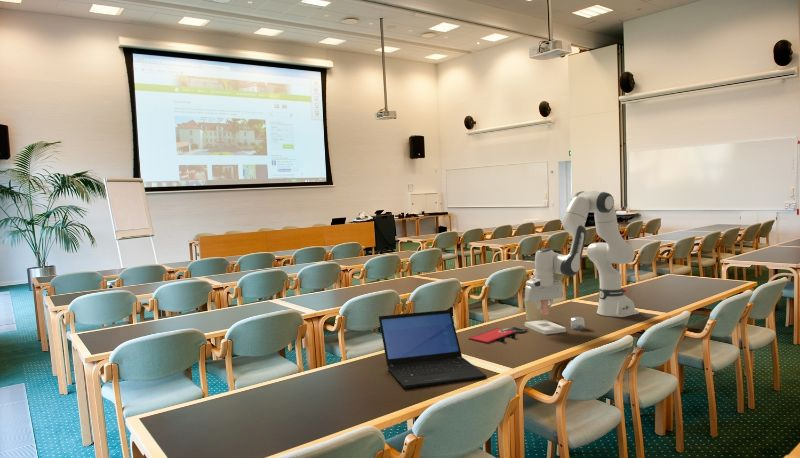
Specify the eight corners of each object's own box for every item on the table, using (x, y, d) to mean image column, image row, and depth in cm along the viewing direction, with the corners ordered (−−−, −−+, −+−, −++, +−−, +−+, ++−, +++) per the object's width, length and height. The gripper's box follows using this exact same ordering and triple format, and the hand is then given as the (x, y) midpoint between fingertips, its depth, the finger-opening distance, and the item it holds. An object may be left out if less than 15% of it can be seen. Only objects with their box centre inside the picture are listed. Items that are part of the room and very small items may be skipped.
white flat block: (544, 323, 284) (544, 319, 284) (565, 331, 267) (565, 327, 267) (524, 325, 280) (524, 322, 280) (544, 334, 263) (544, 330, 263)
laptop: (403, 391, 199) (402, 338, 197) (379, 360, 235) (377, 316, 233) (487, 379, 208) (486, 329, 206) (451, 351, 244) (450, 308, 242)
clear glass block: (578, 326, 277) (578, 316, 277) (587, 329, 271) (586, 319, 270) (568, 327, 275) (568, 317, 275) (576, 330, 269) (576, 320, 268)
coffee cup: (541, 317, 297) (540, 295, 296) (544, 321, 287) (543, 299, 286) (523, 317, 298) (523, 295, 297) (526, 322, 288) (525, 299, 287)
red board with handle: (531, 332, 269) (506, 327, 280) (531, 326, 269) (506, 322, 280) (494, 346, 249) (468, 341, 260) (493, 340, 249) (468, 335, 260)
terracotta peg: (545, 312, 276) (545, 298, 275) (550, 314, 272) (550, 300, 271) (538, 313, 274) (538, 299, 274) (543, 314, 271) (543, 300, 270)
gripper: (558, 278, 278) (558, 305, 279) (523, 281, 272) (523, 309, 273) (565, 280, 272) (565, 307, 273) (529, 283, 266) (530, 311, 267)
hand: (544, 308), depth 273 cm, fingers closed on terracotta peg, 4 cm apart
